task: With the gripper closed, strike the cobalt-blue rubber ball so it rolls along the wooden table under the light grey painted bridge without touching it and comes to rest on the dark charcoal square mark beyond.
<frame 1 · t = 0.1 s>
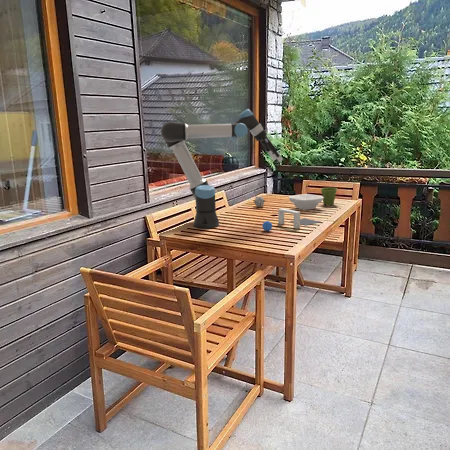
hand: (278, 160, 258), 36 cm above the table, tool tilted 35°, fingers open, 13 cm apart
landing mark: (305, 221, 249), on the table
bowl: (305, 209, 286), on the table
ball: (267, 226, 230), on the table
plant pot: (328, 204, 300), on the table
bridge: (288, 225, 241), on the table
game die: (259, 207, 297), on the table
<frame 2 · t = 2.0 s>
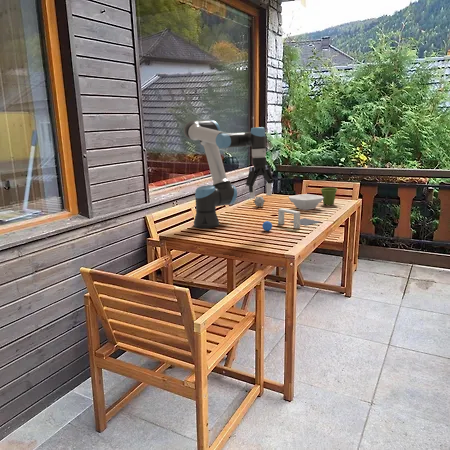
hand: (260, 196, 223), 20 cm above the table, tool pointing down, fingers open, 13 cm apart
nothing on the table moved.
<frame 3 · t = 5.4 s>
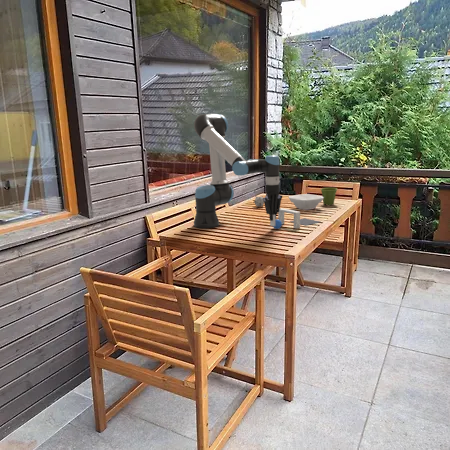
hand: (272, 225, 232), 2 cm above the table, tool pointing down, fingers closed
ball: (276, 224, 234), on the table
everything else where it was.
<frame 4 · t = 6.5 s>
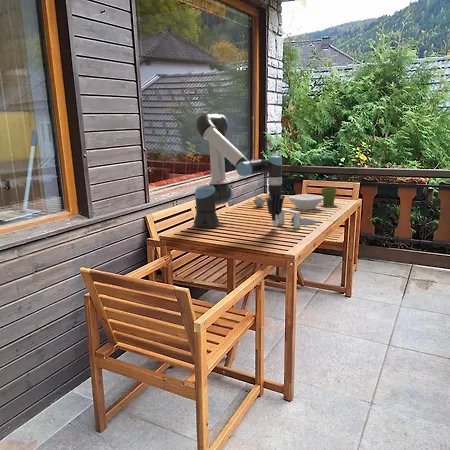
hand: (275, 225, 234), 2 cm above the table, tool pointing down, fingers closed
ball: (296, 219, 243), on the table
everything else where it was.
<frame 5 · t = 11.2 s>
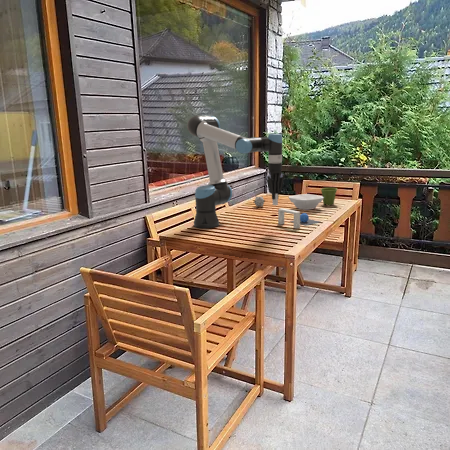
hand: (275, 204, 231), 14 cm above the table, tool pointing down, fingers closed
ball: (304, 217, 247), on the table
everything else where it was.
at the end: ball 1.2 cm from the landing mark (horizontally); ball never touched bridge; ball at rest at the end (0.0 cm/s) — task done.
